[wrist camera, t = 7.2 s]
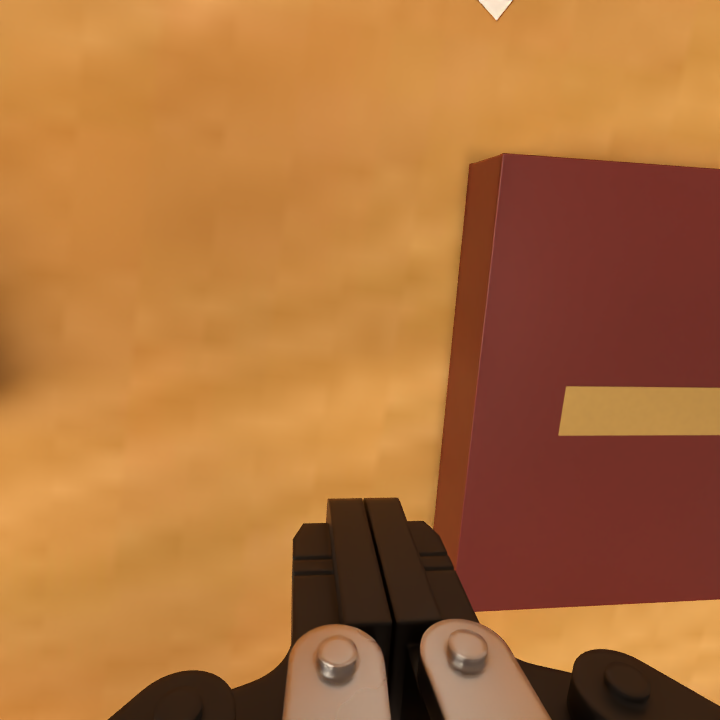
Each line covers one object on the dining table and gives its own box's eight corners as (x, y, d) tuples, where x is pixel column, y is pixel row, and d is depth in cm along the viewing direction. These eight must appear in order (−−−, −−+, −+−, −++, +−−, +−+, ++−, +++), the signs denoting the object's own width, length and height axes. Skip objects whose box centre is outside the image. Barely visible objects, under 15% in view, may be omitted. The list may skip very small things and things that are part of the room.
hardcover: (430, 561, 25) (451, 614, 22) (469, 163, 20) (503, 152, 17) (711, 551, 27) (769, 597, 24) (804, 187, 22) (893, 181, 19)
